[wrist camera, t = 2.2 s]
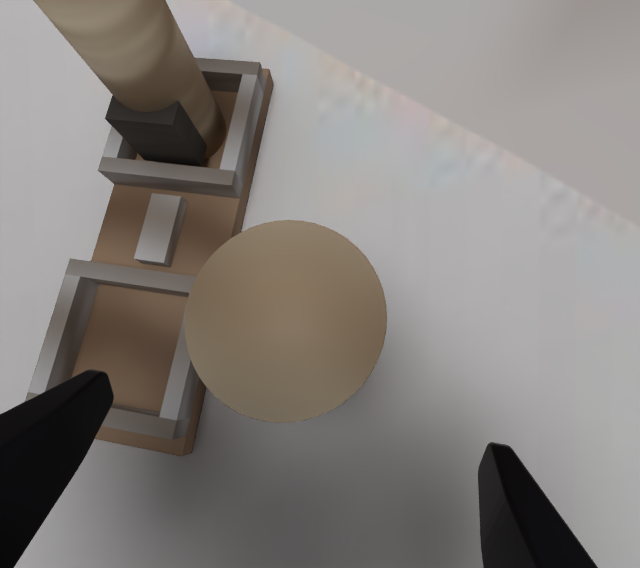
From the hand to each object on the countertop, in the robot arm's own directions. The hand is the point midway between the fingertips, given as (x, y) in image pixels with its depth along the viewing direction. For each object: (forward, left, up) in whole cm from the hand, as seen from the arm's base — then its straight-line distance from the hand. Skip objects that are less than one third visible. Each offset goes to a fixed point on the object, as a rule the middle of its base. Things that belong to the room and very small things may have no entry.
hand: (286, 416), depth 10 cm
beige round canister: (+2, -1, -11) cm, 11 cm away
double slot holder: (+11, +6, -11) cm, 16 cm away
